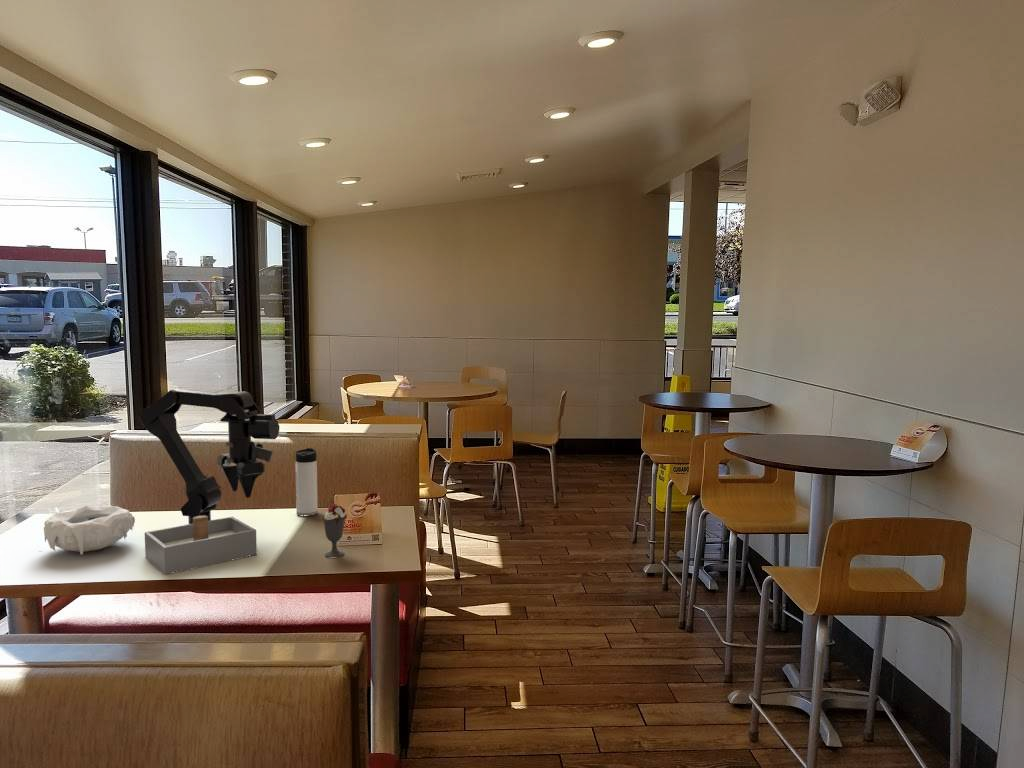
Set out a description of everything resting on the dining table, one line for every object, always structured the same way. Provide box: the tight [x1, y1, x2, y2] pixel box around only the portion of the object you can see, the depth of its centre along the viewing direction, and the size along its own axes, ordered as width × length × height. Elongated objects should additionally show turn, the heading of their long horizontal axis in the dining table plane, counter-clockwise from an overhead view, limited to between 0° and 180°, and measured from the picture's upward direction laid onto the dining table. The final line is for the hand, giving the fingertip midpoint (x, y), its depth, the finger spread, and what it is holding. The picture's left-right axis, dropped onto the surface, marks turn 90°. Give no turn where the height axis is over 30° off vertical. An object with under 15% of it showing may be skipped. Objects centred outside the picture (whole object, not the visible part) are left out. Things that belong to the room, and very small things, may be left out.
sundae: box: [320, 499, 348, 558], centre depth 184 cm, size 7×7×15 cm
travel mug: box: [295, 447, 319, 516], centre depth 221 cm, size 6×7×20 cm
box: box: [144, 516, 258, 575], centre depth 182 cm, size 16×22×6 cm
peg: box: [193, 516, 209, 541], centre depth 182 cm, size 4×4×10 cm
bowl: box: [43, 504, 136, 556], centre depth 187 cm, size 21×20×10 cm
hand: (241, 494), depth 197 cm, fingers open, 9 cm apart
